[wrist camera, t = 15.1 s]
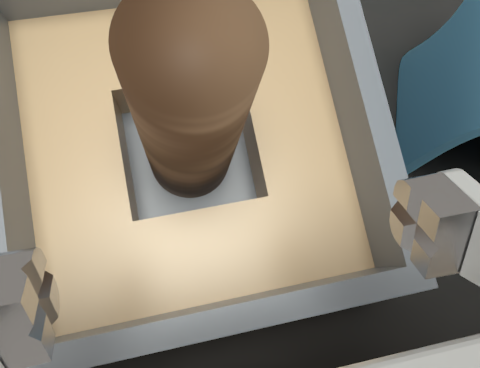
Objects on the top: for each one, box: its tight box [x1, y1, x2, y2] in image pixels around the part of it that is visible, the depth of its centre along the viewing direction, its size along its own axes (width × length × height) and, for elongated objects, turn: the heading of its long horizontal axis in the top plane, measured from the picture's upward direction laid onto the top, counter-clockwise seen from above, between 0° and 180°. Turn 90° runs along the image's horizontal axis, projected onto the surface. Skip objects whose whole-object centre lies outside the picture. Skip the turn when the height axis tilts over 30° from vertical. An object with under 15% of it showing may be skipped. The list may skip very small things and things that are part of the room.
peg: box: [108, 0, 269, 198], centre depth 17 cm, size 4×4×12 cm
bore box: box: [0, 0, 438, 368], centre depth 20 cm, size 16×16×7 cm
